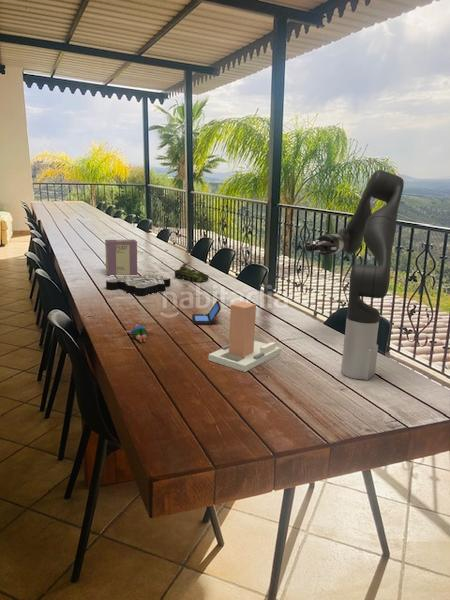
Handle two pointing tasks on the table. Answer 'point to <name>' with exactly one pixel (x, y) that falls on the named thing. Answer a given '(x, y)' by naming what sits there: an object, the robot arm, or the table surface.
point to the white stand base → (248, 362)
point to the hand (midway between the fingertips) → (308, 248)
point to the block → (242, 329)
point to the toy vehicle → (190, 274)
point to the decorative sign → (139, 284)
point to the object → (207, 316)
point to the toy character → (139, 332)
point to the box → (121, 257)
